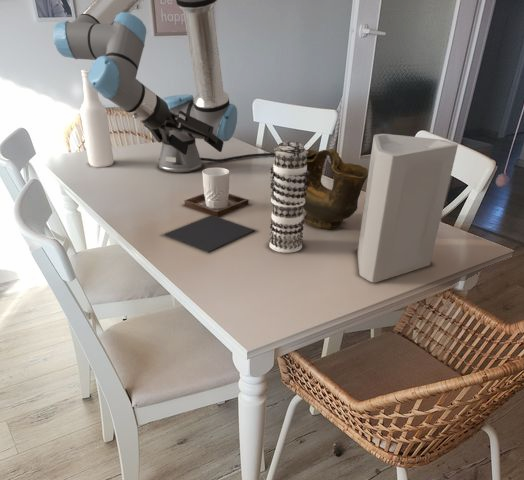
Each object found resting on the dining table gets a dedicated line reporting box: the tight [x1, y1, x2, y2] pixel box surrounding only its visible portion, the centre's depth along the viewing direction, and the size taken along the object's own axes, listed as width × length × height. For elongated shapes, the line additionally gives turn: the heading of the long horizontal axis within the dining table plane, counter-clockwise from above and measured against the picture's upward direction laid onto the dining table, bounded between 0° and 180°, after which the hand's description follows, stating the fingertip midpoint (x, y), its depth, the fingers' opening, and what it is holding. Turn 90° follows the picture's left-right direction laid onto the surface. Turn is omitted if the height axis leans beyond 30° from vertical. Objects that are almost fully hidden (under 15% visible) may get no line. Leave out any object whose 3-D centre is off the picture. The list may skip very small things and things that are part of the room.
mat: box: [164, 214, 255, 253], centre depth 138 cm, size 18×16×1 cm
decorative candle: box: [268, 141, 309, 254], centre depth 125 cm, size 9×9×25 cm
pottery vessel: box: [303, 148, 369, 230], centre depth 140 cm, size 25×11×20 cm, turn 40°
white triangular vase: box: [356, 133, 459, 284], centre depth 118 cm, size 19×15×28 cm
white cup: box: [201, 167, 230, 210], centre depth 152 cm, size 8×8×10 cm
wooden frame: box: [183, 193, 250, 218], centre depth 154 cm, size 14×14×2 cm
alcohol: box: [79, 68, 115, 168], centre depth 177 cm, size 9×9×30 cm
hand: (203, 148), depth 145 cm, fingers open, 13 cm apart
